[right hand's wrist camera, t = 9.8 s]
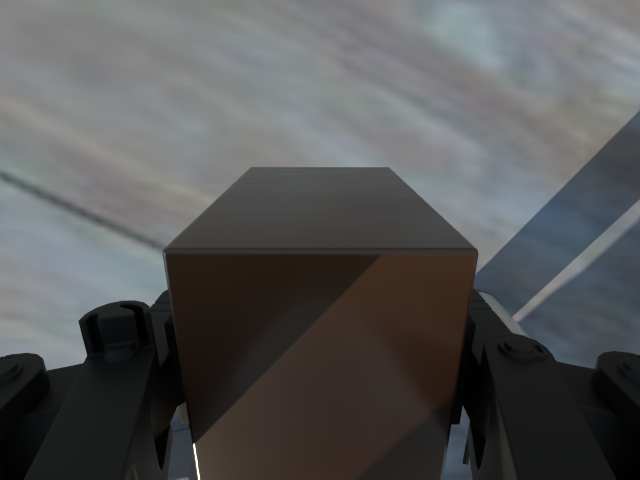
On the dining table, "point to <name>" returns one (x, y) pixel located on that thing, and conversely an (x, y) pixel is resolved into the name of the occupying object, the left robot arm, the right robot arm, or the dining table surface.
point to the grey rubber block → (182, 457)
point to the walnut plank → (320, 327)
